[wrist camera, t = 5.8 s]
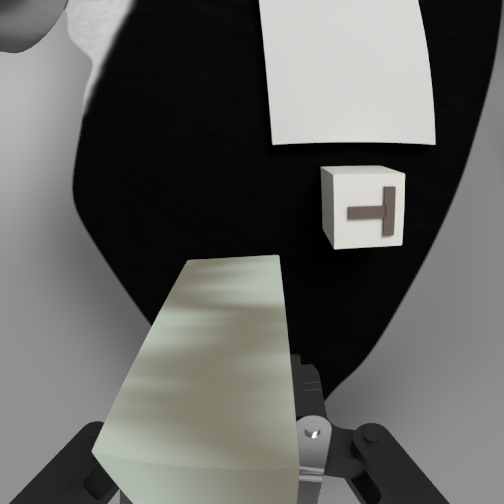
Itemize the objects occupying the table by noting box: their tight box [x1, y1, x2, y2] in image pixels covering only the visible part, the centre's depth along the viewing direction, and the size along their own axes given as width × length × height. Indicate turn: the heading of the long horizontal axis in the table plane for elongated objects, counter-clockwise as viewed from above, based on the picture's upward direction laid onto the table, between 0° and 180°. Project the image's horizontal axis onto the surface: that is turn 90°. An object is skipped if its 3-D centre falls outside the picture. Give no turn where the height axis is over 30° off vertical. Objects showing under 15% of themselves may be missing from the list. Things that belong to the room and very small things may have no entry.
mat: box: [259, 0, 435, 145], centre depth 17 cm, size 12×18×1 cm, turn 5°
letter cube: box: [321, 166, 405, 249], centre depth 20 cm, size 4×4×5 cm
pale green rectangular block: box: [91, 255, 300, 504], centre depth 11 cm, size 4×9×10 cm, turn 4°
